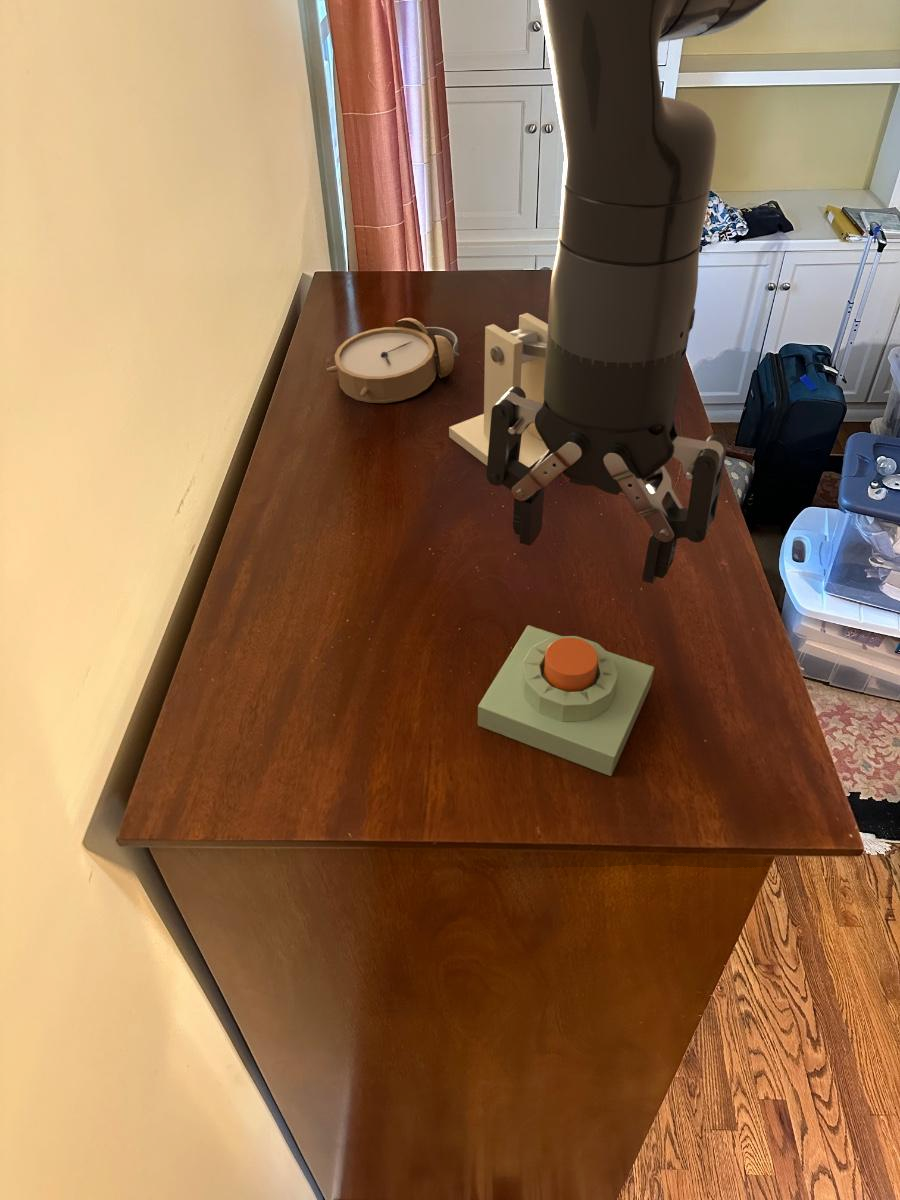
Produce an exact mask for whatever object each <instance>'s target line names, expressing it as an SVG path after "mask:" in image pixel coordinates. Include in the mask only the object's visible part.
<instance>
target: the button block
mask: <svg viewBox="0 0 900 1200" xmlns="http://www.w3.org/2000/svg"><path fill="white" fill-rule="evenodd" d="M562 638H577V639H581V640H584V641H586V642H587V643H589V644H590V645H591V646H592V647H593V648H594V649H595V650H596V652H597V655H598V663H597V670H596V676H595V680H594V682H593V683H592V684H591V685H590V686H589V687H588V688H586V689H584V690H581V691H577V692H567V691H563V690H560V689H557V688H555V687H554V686H552V685H551V684H550V683H549V682H548V681H547V679H546V677H545V674H544V665H545V654H546V650H547V648H548V647H549V645H550V644H551V643H553V642H554V641H556V640H558V639H562ZM654 672H655V666H653V665H649V664H647V663H643V662H641V661H638V660H634V659H633V658H632V659H631V658H628V657H626V656H622V655H619V654H616V653H613V652H611V651H608V650H606V649H605V648H603V646H601V644H599V643H598V642H596V641H593V640H590V639H586V638H583V637H580V636H578V635H564V636H563V635H559V634H556V633H553V632H550V631H547V630H545V629H541V628H538V627H535V626H532V625H528V624H527V626H526V627H525V629H524V631H523V632H522V634H521V636H520V637H519V639H518V641H517V642H516V644H515V645H514V648H512V651H511V652H510V654H509V655H508V657H507V658H506V660H505V661H504V664H503V665H502V666H501V668H500V669H499V671H498V673H497V674H496V676H495V677H494V680H493V681H492V683H491V684H490V685H489V688H488V689H487V691H486V692H485V694H484V696H483V697H482V699H481V701H480V702H479V704H478V705H477V726H478V727H480V728H482V729H486V730H489V731H491V732H494V733H496V734H499V735H501V736H503V737H507V738H509V739H512V740H514V741H517V742H519V743H522V744H525V745H528V746H530V747H532V748H535V749H538V750H540V751H542V752H545V753H549V754H551V755H553V756H556V757H558V758H560V759H561V758H562V759H564V760H567V761H569V762H572V763H574V764H576V765H578V766H579V765H580V766H581V767H585V768H588V769H590V770H593V771H595V772H598V773H601V774H603V775H606V776H608V777H612V776H613V773H614V772H615V769H616V766H617V764H618V762H619V760H620V758H621V755H622V753H623V751H624V748H625V746H626V743H627V741H628V740H629V737H630V735H631V733H632V730H633V728H634V725H635V723H636V721H637V718H638V716H639V714H640V712H641V709H642V707H643V705H644V703H645V700H646V698H647V696H648V694H649V691H650V689H651V686H652V681H653V677H654V674H655V673H654Z"/></svg>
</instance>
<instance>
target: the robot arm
mask: <svg viewBox="0 0 900 1200" xmlns="http://www.w3.org/2000/svg"><path fill="white" fill-rule="evenodd" d="M768 1H769V0H538V4H539V10H540V16H541V22H542V26H543V32H544V37H545V42H546V48H547V53H548V59H549V66H550V70H551V76H552V83H553V90H554V96H555V103H556V110H557V114H558V121H559V126H560V131H561V137H562V143H563V144H562V145H563V155H564V161H563V171H562V181H561V194H560V195H561V196H560V211H559V223H558V224H559V226H558V238H557V248H556V253H555V258H554V263H553V267H552V272H551V278H550V287H549V302H548V316H547V317H548V318H547V324H548V332H547V347H546V363H545V379H544V402H543V403H539V402H536V401H533V400H529V399H526V395H525V392H524V391H523V390H522V389H521V388H520V387H516V386H514V387H511V388H510V389H509V390H508V391H507V392H506V394H505V395H504V396H503V397H502V398H501V399H500V400H499V401H498V402H497V403H496V404H495V405H494V406H493V408H492V413H491V425H490V437H489V449H488V462H487V466H486V475H485V476H486V479H487V481H488V482H489V483H490V484H491V485H493V486H496V487H498V486H499V487H500V486H501V485H502V486H503V487H506V488H507V489H509V490H510V491H511V495H512V497H513V512H512V513H513V517H512V519H513V520H512V521H513V522H512V529H513V531H514V534H515V535H517V536H519V543H520V544H522V545H525V546H529V547H531V546H532V545H533V543H535V541H536V539H537V538H538V537H539V536H540V533H541V531H542V527H543V518H544V517H543V516H544V502H545V501H544V500H545V489H546V486H547V485H549V483H551V482H552V481H553V480H554V479H555V478H557V477H558V476H559V475H560V474H561V473H562V474H563V475H565V476H566V477H567V478H569V483H571V484H575V485H577V486H584V487H595V488H596V489H599V490H600V491H603V492H605V493H608V494H611V495H615V496H619V494H620V493H623V494H624V496H625V497H626V499H627V501H628V503H629V504H630V506H631V507H632V509H633V511H634V512H635V513H636V514H637V515H638V516H642V517H643V518H644V520H645V522H646V523H647V525H648V526H649V528H650V530H651V532H652V533H651V535H650V536H649V539H648V543H647V549H646V555H645V559H644V566H643V571H642V578H641V581H642V582H644V583H648V584H650V585H651V584H652V585H654V583H655V581H656V579H657V578H659V579H664V577H665V576H667V574H668V572H669V570H670V568H671V566H672V564H673V562H674V560H675V554H676V549H677V545H678V539H683V538H686V539H687V540H689V541H690V542H692V543H701V542H703V541H704V540H705V538H706V537H707V535H708V532H709V531H708V530H709V529H710V526H711V525H712V523H713V522H714V520H715V518H716V516H717V511H718V505H719V498H720V493H721V487H722V480H723V474H724V468H725V462H726V455H727V449H728V441H727V439H726V438H725V437H724V436H723V435H721V434H710V435H709V436H708V437H707V438H706V439H705V440H701V439H696V438H689V437H684V436H679V433H678V430H677V428H676V424H675V416H676V415H675V414H676V408H677V402H678V399H679V398H678V397H679V392H680V386H681V383H682V382H681V381H682V375H683V370H684V365H685V359H686V355H687V348H688V344H689V338H690V332H691V331H692V330H693V327H694V321H695V316H696V309H695V305H696V300H697V299H696V298H697V293H698V282H699V261H700V259H699V258H700V249H701V244H702V243H701V242H702V237H703V231H704V225H705V219H706V214H707V208H708V202H709V199H710V198H709V197H710V192H711V187H712V186H711V185H712V180H713V174H714V170H715V164H716V163H715V161H716V155H717V134H716V127H715V124H714V122H713V120H712V119H711V117H710V115H709V114H708V113H707V112H706V111H705V110H704V109H702V108H701V107H699V106H697V105H695V104H694V103H692V102H689V101H686V100H682V99H677V98H672V97H669V96H663V90H662V85H661V79H660V71H659V59H658V57H659V55H658V54H659V52H658V51H659V43H664V42H669V41H670V42H671V41H676V40H682V39H688V38H695V37H700V36H706V35H707V36H708V35H712V34H716V33H719V32H722V31H725V30H727V29H729V28H731V27H733V26H735V25H737V24H738V23H740V22H742V21H743V20H745V19H746V18H748V17H749V16H751V15H752V14H753V13H755V12H756V11H757V10H758V9H760V8H761V7H762V6H763V5H765V3H767V2H768ZM530 423H535V427H536V430H537V431H538V433H539V435H540V437H541V438H542V440H543V442H544V443H545V445H546V447H547V448H548V450H547V451H546V452H545V453H544V454H543V455H542V456H541V457H540V458H539V459H538V460H536V461H535V462H534V463H533V464H532V465H531V466H529V467H527V466H526V465H524V464H522V463H521V462H519V454H520V445H521V436H522V433H523V432H524V431H525V430H526V429H527V427H528V426H529V425H530ZM671 459H675V460H677V461H678V463H680V465H681V471H682V474H683V476H684V478H685V479H686V480H687V481H691V485H690V492H689V499H688V507H684V506H683V505H682V503H681V501H680V500H679V498H678V496H677V495H676V493H675V491H674V489H673V487H672V485H673V483H672V477H671V476H670V474H669V472H668V470H667V469H666V467H665V465H667V464H668V463H669V462H670V460H671Z"/></svg>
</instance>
